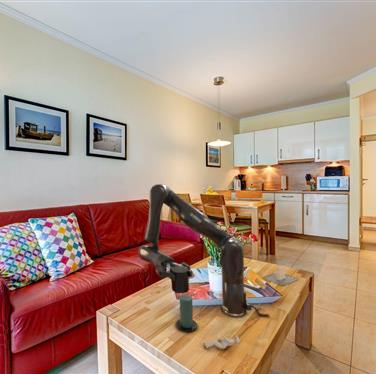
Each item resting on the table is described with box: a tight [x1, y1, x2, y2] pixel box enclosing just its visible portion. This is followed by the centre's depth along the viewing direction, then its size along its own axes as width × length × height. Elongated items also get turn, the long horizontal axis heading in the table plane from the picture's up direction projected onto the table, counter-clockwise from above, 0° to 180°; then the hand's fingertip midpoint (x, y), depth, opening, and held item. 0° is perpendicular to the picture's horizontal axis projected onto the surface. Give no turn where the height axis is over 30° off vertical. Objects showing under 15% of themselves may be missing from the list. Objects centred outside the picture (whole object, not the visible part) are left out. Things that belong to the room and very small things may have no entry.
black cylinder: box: [170, 266, 190, 294], centre depth 92 cm, size 7×7×8 cm
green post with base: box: [175, 294, 198, 333], centre depth 97 cm, size 8×8×12 cm
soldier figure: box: [203, 333, 240, 350], centre depth 84 cm, size 8×5×12 cm
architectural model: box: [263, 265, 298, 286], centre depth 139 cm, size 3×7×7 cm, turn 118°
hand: (182, 276), depth 90 cm, fingers closed on black cylinder, 7 cm apart
